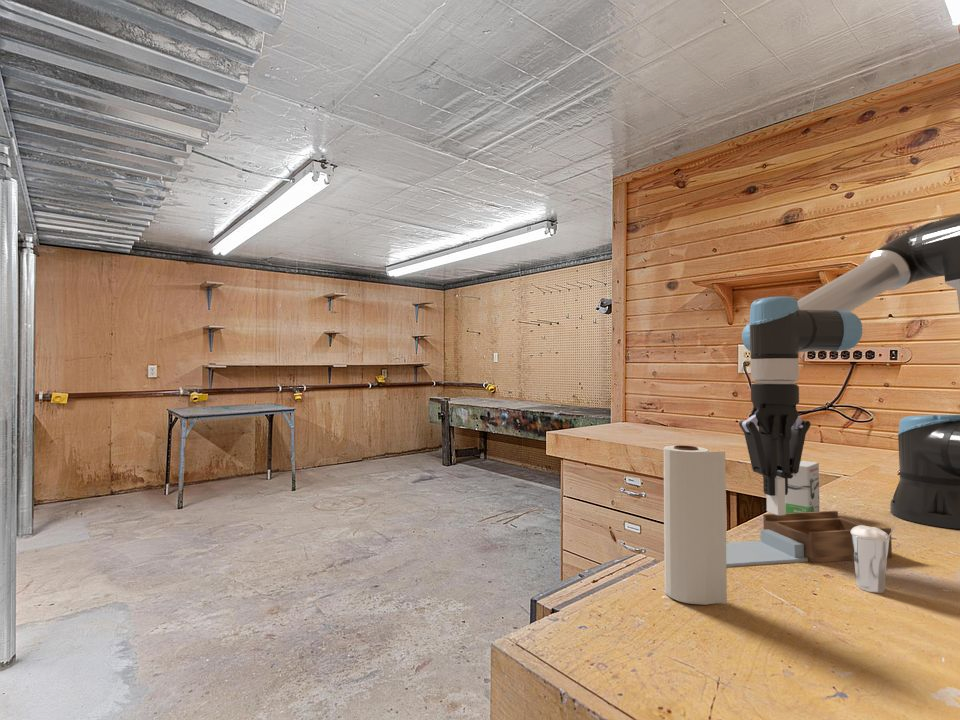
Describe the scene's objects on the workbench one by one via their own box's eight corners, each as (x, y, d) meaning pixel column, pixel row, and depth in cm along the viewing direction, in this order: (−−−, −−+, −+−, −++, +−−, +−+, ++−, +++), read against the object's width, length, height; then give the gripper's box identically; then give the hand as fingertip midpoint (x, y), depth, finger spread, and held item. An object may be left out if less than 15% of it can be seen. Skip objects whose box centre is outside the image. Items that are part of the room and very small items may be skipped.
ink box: (809, 520, 106) (808, 466, 106) (783, 515, 110) (783, 463, 110) (820, 512, 112) (819, 461, 112) (795, 508, 115) (795, 458, 116)
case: (835, 536, 95) (835, 510, 95) (891, 557, 84) (891, 528, 85) (763, 540, 93) (763, 514, 93) (811, 562, 82) (811, 533, 82)
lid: (767, 545, 92) (767, 528, 92) (807, 564, 83) (807, 545, 83) (690, 550, 89) (690, 532, 89) (723, 570, 80) (723, 550, 80)
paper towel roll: (655, 590, 71) (654, 445, 72) (687, 583, 73) (685, 443, 74) (693, 613, 65) (692, 452, 65) (727, 605, 67) (725, 450, 67)
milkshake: (888, 600, 68) (886, 529, 69) (845, 585, 73) (844, 519, 73) (903, 593, 70) (902, 524, 71) (860, 579, 75) (859, 515, 75)
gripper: (789, 382, 93) (791, 506, 92) (728, 382, 90) (729, 508, 90) (823, 383, 85) (825, 517, 85) (757, 383, 83) (758, 521, 82)
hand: (775, 513), depth 87 cm, fingers closed
